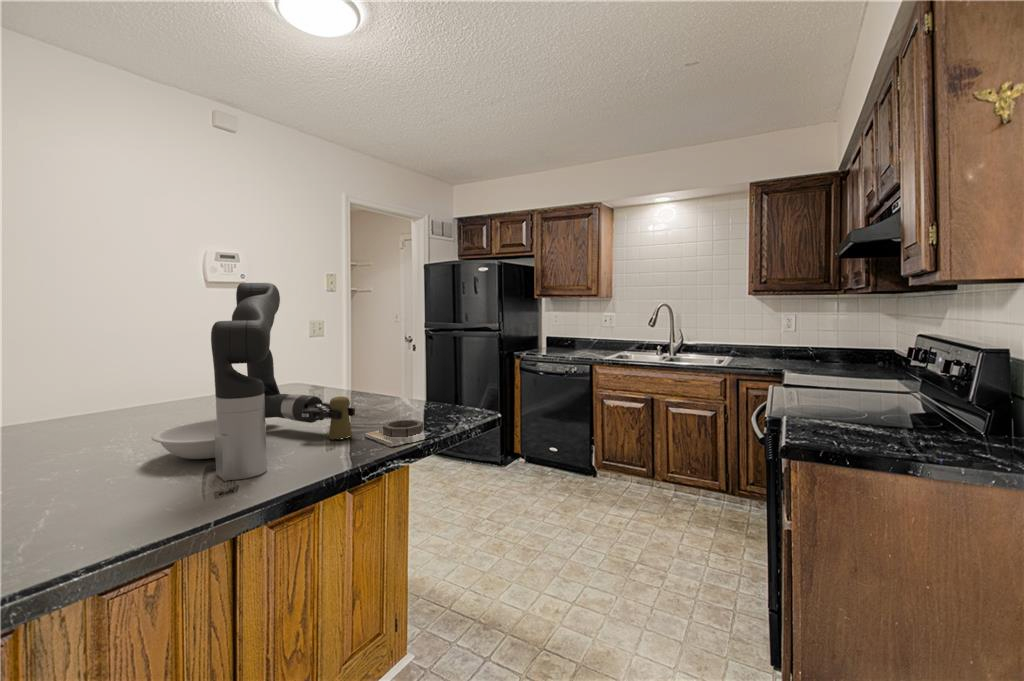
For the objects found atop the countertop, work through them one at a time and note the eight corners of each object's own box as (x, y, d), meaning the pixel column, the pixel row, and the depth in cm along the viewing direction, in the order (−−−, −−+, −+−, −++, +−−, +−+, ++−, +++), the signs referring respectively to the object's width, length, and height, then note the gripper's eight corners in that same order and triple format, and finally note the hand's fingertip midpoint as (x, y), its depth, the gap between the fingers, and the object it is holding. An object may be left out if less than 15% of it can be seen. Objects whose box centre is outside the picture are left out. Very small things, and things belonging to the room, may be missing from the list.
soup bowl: (217, 474, 107) (215, 444, 106) (125, 467, 112) (124, 439, 111) (288, 444, 130) (287, 419, 130) (210, 439, 135) (209, 416, 135)
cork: (347, 439, 132) (346, 399, 132) (325, 439, 133) (324, 399, 132) (355, 433, 139) (354, 395, 138) (333, 433, 139) (332, 395, 138)
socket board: (391, 447, 127) (391, 433, 126) (364, 437, 136) (364, 424, 136) (442, 436, 138) (441, 423, 138) (413, 427, 148) (413, 415, 147)
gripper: (280, 399, 135) (327, 404, 127) (321, 391, 147) (365, 395, 140) (281, 426, 135) (328, 433, 128) (321, 416, 148) (366, 421, 141)
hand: (347, 413), depth 134 cm, fingers closed on cork, 4 cm apart
